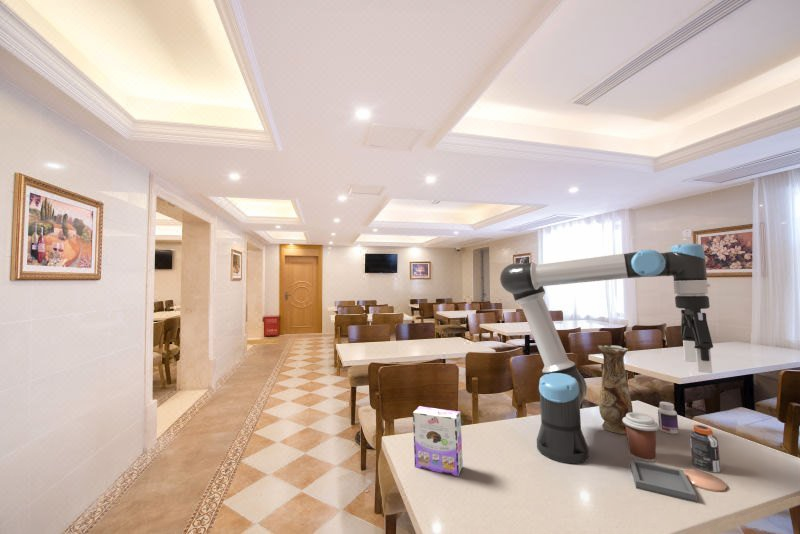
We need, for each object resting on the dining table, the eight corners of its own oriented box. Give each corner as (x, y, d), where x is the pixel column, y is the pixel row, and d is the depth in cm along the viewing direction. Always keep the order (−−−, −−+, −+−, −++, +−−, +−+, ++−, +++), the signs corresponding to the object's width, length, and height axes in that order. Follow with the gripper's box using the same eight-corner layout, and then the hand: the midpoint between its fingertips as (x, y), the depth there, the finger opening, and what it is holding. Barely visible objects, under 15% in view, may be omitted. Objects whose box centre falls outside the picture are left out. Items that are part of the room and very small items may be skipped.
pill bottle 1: (682, 434, 111) (680, 406, 112) (667, 434, 111) (665, 406, 112) (669, 427, 117) (667, 400, 117) (655, 427, 117) (653, 400, 118)
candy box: (463, 466, 95) (461, 410, 96) (458, 477, 89) (456, 418, 90) (420, 457, 100) (419, 404, 101) (413, 467, 95) (412, 411, 96)
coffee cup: (624, 445, 104) (621, 408, 105) (659, 453, 99) (656, 414, 100) (624, 458, 97) (621, 418, 98) (662, 467, 92) (659, 425, 92)
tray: (636, 488, 83) (635, 481, 83) (630, 465, 93) (629, 459, 93) (696, 502, 77) (696, 495, 77) (683, 476, 87) (682, 469, 87)
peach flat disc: (685, 485, 83) (685, 482, 84) (676, 468, 91) (676, 465, 91) (732, 495, 79) (732, 493, 79) (719, 476, 87) (718, 474, 87)
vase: (593, 423, 122) (588, 345, 124) (619, 421, 123) (613, 344, 125) (615, 436, 111) (609, 350, 113) (642, 433, 112) (636, 349, 114)
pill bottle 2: (726, 474, 88) (722, 432, 89) (701, 472, 89) (698, 431, 90) (710, 462, 94) (706, 423, 94) (687, 460, 95) (684, 422, 96)
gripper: (724, 296, 82) (732, 379, 81) (694, 293, 104) (700, 359, 102) (686, 296, 86) (693, 375, 84) (665, 294, 107) (670, 357, 106)
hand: (697, 366), depth 93 cm, fingers open, 13 cm apart
